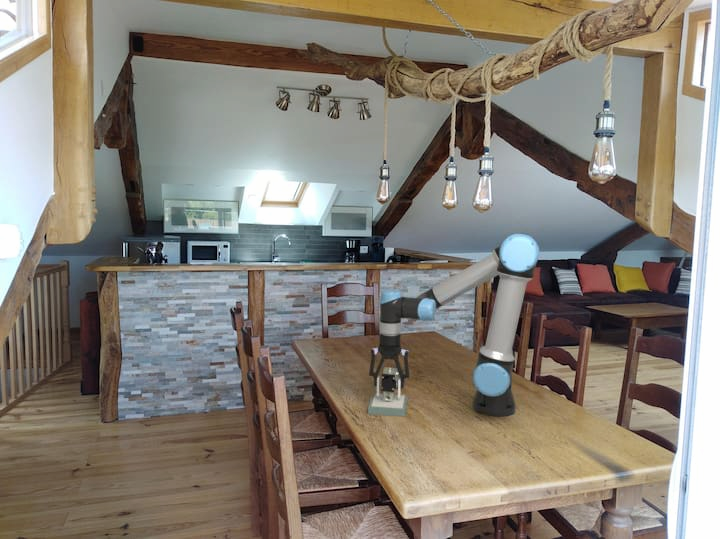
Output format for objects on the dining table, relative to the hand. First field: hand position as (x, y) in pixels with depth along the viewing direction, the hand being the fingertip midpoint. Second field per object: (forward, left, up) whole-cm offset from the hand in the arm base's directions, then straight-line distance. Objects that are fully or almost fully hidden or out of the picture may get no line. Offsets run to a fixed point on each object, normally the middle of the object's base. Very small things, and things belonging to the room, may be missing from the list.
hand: (388, 395), depth 187 cm
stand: (0, 0, -5) cm, 5 cm away
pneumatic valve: (0, 0, -2) cm, 2 cm away
